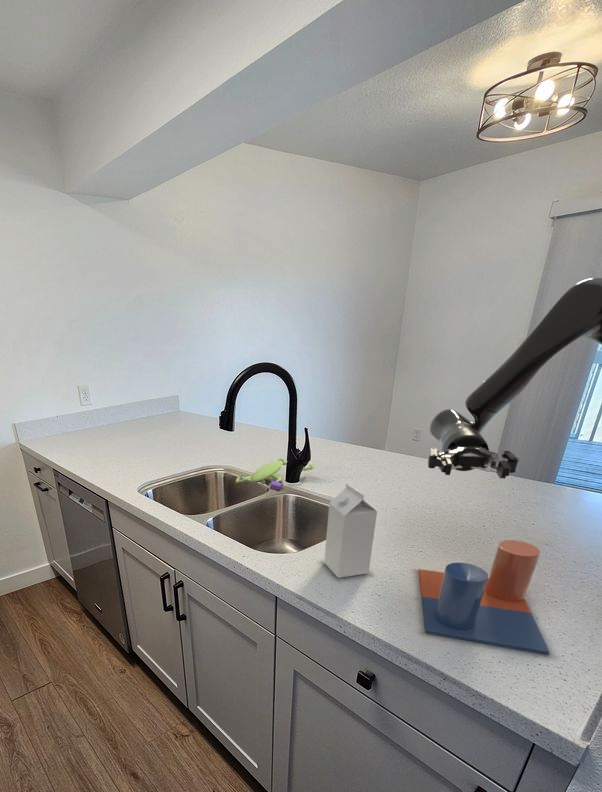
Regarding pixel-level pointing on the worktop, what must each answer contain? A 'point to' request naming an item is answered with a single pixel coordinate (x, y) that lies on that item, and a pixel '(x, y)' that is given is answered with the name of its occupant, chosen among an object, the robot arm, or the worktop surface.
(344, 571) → the milk carton
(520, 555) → the terracotta crock
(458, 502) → the worktop surface
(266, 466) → the figurine
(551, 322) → the robot arm
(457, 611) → the blue crock
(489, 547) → the worktop surface
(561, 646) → the worktop surface
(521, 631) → the sorting mat
